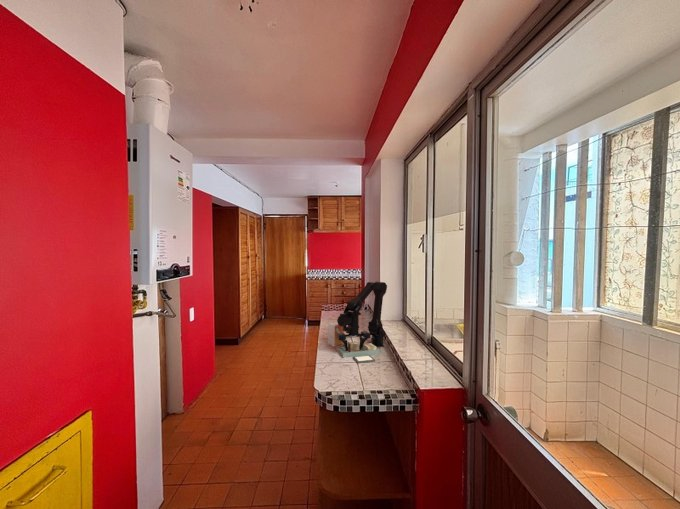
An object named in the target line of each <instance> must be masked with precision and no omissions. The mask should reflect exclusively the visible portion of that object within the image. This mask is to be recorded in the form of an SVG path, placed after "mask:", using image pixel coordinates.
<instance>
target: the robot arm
mask: <svg viewBox="0 0 680 509" xmlns="http://www.w3.org/2000/svg"><path fill="white" fill-rule="evenodd" d="M387 288H388V285H387V283H386V282H383V281H375V282H373V281H368V282H366V285H364V287H363V288H362V289H361V291H359V293H358V294H357V295H356V296H355V297H354V298H352V299H351V300H349V301H348V302H347V304H346V306H345V308H344V310H343V313H339V316H338V317H337V319H336V320H337V321H336V322H338V325H339V326H343V331H344V333H338V334H337V339H338V340H340V341H342V342H343V345H344V346H343V347H345V349H346V351H345V352H348V351H347V346H348V340H347V339H349V338H350V339H351V338H359V349H360V350H359V351H362V350H361V348H362V346H363V344H365V343H366V341H367V340H368V339H370V343H371V344H373V345H374V346H376V348H383V347H385V345H384V338H385V337H386V334H387V333H386V331H385V330H384V328H383V322H382V320H381V318H382V312H383V311H382V308H383V300H384V296H385V295H386V293H387V290H388V289H387ZM372 292H373V294H374V300H373V302H374V303H373V310H372V318H371V321H368V326H367V329H368V331H367V330H364V331H359V329H360V324H359V323H360V322H359V321H360V319H359V316H361V315H362V313H361V312H360V311H361V309H362V308H363V305H364V304H363V303H364V302H365V300H366V299H367V298H368V297H369V296H370V294H371V293H372ZM359 332H360V333H359Z"/></svg>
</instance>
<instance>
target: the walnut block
mask: <svg viewBox="0 0 680 509" xmlns="http://www.w3.org/2000/svg"><path fill="white" fill-rule="evenodd" d="M359 345H360V343H358V341H347V346H348V351H347V352H356V351H360V350H359Z"/></svg>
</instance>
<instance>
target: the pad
mask: <svg viewBox="0 0 680 509" xmlns="http://www.w3.org/2000/svg"><path fill="white" fill-rule="evenodd" d="M352 360H353V361H355V363H357V364H366V363H367V364H368V363H376V359H375V358H373V357H372V355H366V356H356V357H352Z"/></svg>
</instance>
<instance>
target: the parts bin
mask: <svg viewBox="0 0 680 509" xmlns="http://www.w3.org/2000/svg"><path fill="white" fill-rule="evenodd" d="M337 352H338V355H340V356H341V357H342V358H345V357H346V358H353V357H356V356H367V355H370V356H375V355H380V349H379V347H376V350H367V351H363V346H362V348H361V350H360V349H359V351H356V352H348V345H347V351H346V349H345V346H339V347H337Z"/></svg>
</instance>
